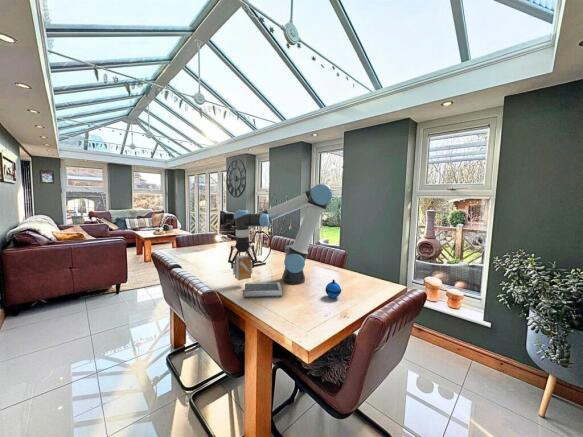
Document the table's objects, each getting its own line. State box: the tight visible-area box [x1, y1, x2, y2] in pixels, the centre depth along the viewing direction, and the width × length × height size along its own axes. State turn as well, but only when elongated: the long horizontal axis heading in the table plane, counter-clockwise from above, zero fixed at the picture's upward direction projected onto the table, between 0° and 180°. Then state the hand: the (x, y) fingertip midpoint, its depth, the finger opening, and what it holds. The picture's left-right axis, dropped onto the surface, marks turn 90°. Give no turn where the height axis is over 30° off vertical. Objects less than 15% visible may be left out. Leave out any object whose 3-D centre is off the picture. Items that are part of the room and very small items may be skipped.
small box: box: [234, 254, 252, 281], centre depth 148 cm, size 8×6×13 cm
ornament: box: [325, 279, 342, 299], centre depth 136 cm, size 9×9×10 cm
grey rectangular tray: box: [243, 281, 283, 299], centre depth 139 cm, size 20×13×4 cm, turn 99°
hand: (242, 273), depth 148 cm, fingers closed on small box, 10 cm apart
